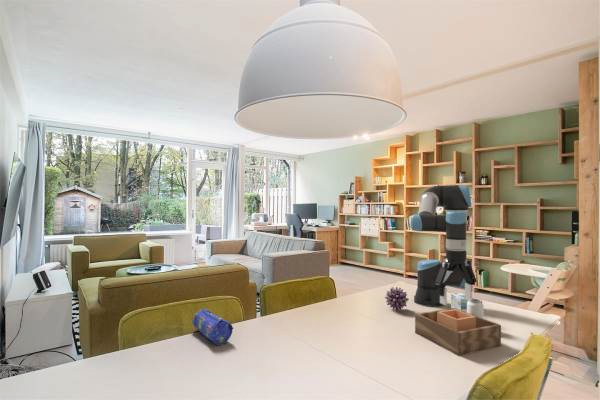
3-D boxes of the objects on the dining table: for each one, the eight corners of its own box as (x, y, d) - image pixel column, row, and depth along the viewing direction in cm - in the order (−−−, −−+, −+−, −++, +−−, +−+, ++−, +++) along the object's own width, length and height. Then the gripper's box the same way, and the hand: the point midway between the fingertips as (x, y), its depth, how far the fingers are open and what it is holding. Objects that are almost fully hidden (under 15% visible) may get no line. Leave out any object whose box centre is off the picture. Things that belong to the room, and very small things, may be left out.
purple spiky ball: (379, 308, 168) (379, 285, 168) (397, 305, 173) (397, 283, 173) (395, 315, 158) (395, 290, 158) (413, 311, 163) (413, 288, 163)
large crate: (454, 325, 144) (454, 307, 144) (500, 346, 124) (500, 325, 124) (415, 332, 136) (415, 313, 136) (458, 355, 116) (458, 333, 116)
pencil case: (234, 343, 125) (234, 318, 125) (213, 349, 120) (213, 323, 120) (210, 326, 142) (210, 304, 142) (190, 331, 137) (191, 308, 137)
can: (466, 328, 141) (466, 301, 141) (466, 324, 147) (466, 297, 147) (483, 331, 138) (483, 303, 138) (483, 326, 144) (483, 299, 144)
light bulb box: (475, 322, 149) (475, 299, 149) (460, 322, 149) (460, 298, 149) (464, 314, 160) (464, 292, 160) (450, 314, 160) (450, 292, 160)
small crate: (455, 330, 136) (455, 309, 137) (475, 339, 127) (475, 316, 127) (437, 333, 133) (437, 311, 133) (457, 343, 123) (457, 320, 124)
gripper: (439, 252, 122) (439, 308, 122) (486, 249, 132) (486, 300, 132) (425, 250, 129) (425, 302, 129) (470, 246, 138) (470, 295, 139)
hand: (456, 302), depth 130 cm, fingers open, 13 cm apart
